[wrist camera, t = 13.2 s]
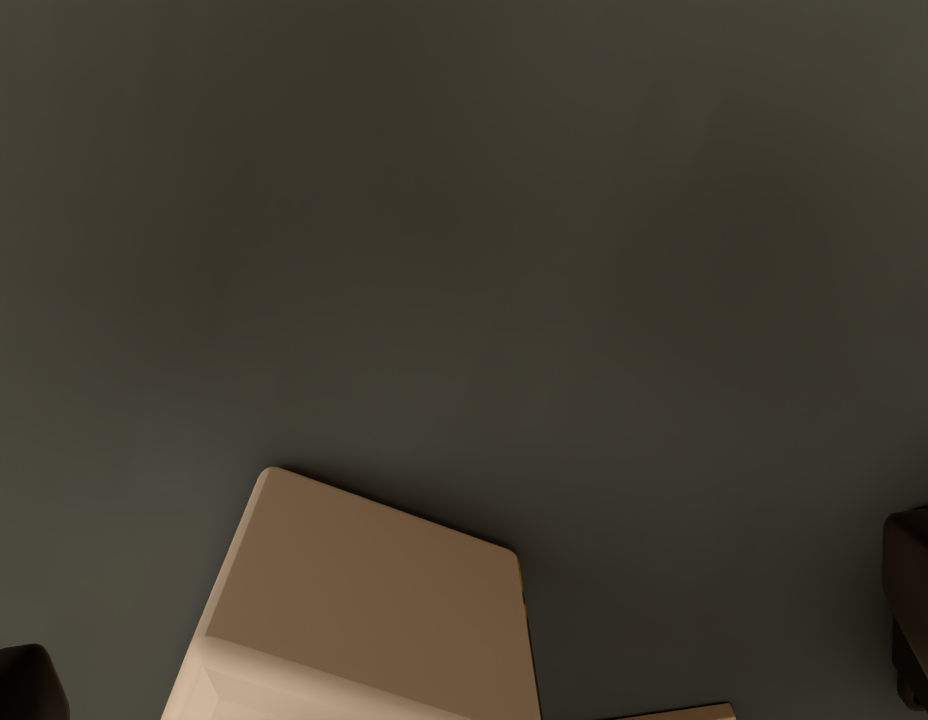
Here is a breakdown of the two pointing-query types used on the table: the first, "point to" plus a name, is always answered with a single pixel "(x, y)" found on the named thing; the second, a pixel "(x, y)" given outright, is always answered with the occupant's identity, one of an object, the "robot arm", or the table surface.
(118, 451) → the table surface
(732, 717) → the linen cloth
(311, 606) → the medicine bottle
